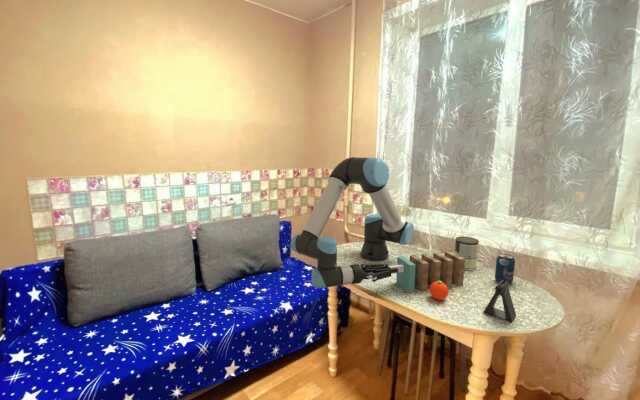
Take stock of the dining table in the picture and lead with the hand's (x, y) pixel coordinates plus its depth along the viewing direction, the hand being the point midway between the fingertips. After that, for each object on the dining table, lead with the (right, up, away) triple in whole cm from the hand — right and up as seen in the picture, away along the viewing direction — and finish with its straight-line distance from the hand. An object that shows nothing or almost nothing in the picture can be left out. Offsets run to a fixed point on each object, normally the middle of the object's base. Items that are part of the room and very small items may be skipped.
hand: (403, 268), depth 126 cm
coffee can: (+38, -5, +25) cm, 45 cm away
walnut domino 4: (+25, -8, +9) cm, 27 cm away
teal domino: (+1, -9, +2) cm, 9 cm away
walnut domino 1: (+7, -8, +4) cm, 12 cm away
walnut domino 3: (+19, -8, +7) cm, 22 cm away
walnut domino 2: (+13, -8, +5) cm, 16 cm away
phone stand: (+29, -12, -19) cm, 37 cm away
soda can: (+47, -8, +8) cm, 48 cm away
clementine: (+12, -10, -7) cm, 17 cm away
